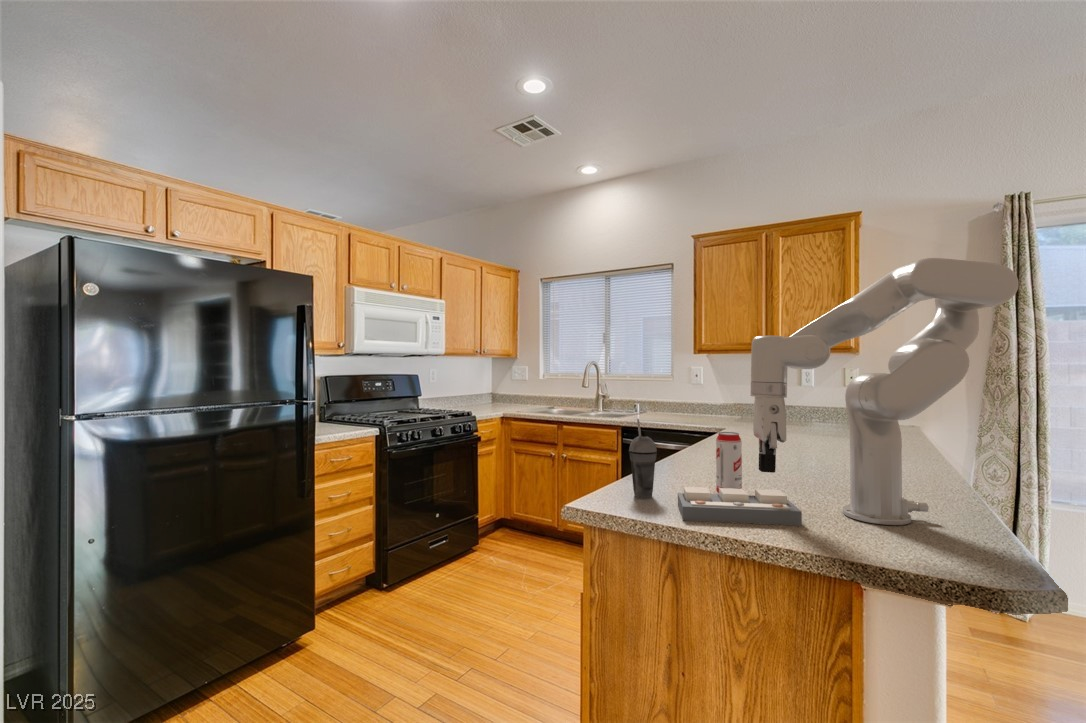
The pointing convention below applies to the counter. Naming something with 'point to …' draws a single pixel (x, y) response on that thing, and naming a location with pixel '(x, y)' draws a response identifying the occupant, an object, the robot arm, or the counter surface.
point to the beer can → (728, 461)
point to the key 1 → (697, 494)
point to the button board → (739, 511)
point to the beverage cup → (642, 465)
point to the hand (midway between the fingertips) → (766, 471)
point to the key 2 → (770, 497)
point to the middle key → (733, 495)
